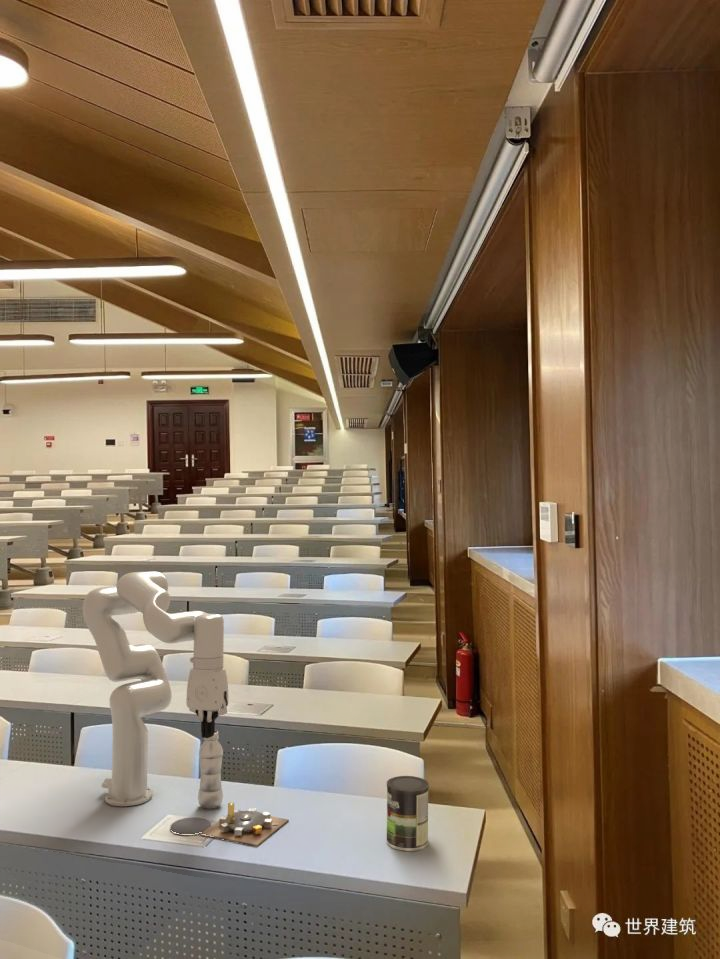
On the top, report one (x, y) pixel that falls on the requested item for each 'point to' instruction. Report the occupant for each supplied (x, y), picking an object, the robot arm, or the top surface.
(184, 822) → the pad
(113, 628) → the robot arm
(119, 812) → the top surface
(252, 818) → the sprocket
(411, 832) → the coffee can
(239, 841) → the base plate
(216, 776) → the plastic bottle
